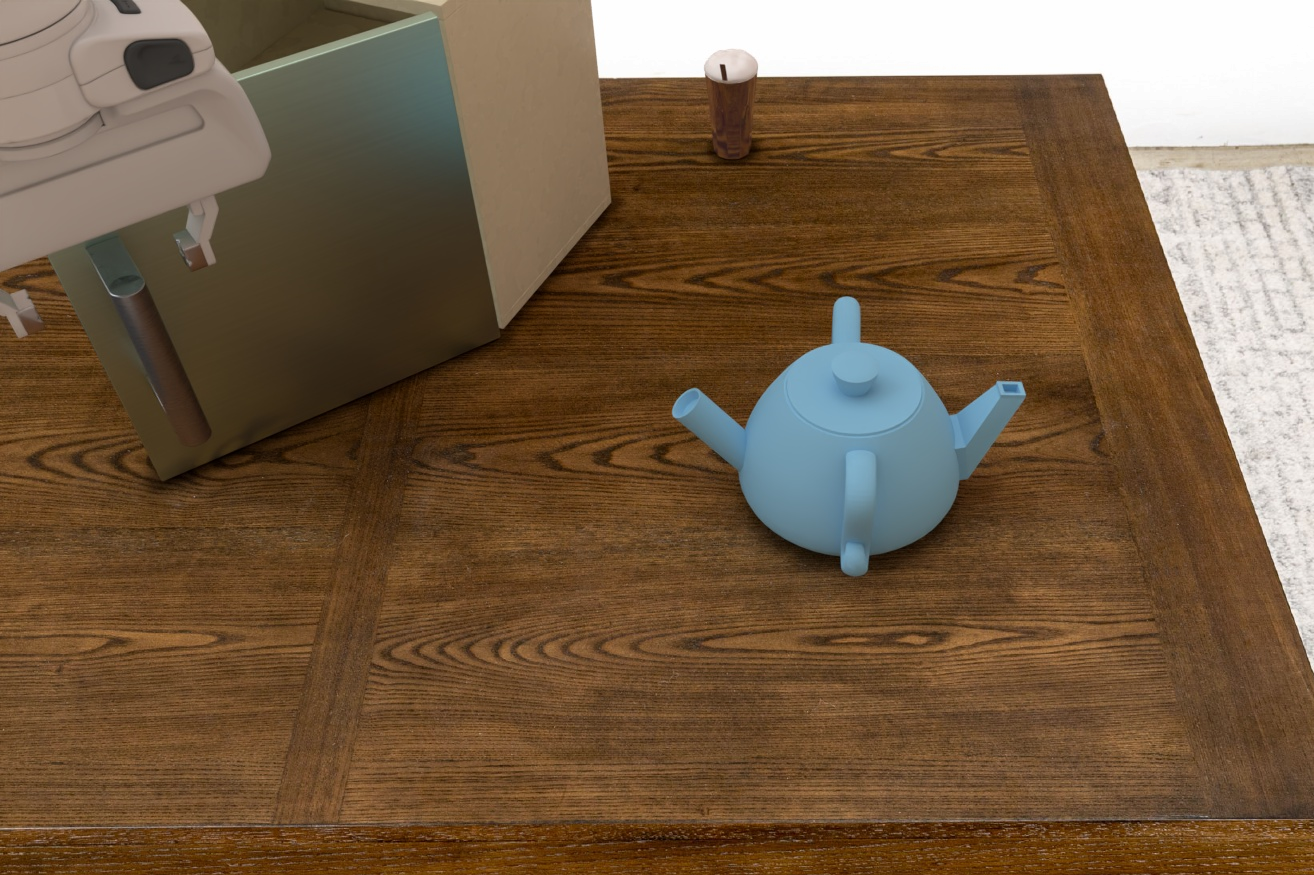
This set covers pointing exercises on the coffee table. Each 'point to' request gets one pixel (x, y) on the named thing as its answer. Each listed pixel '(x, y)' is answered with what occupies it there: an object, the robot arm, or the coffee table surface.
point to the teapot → (852, 446)
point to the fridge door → (300, 258)
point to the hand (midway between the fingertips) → (117, 294)
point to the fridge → (477, 110)
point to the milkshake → (731, 100)
